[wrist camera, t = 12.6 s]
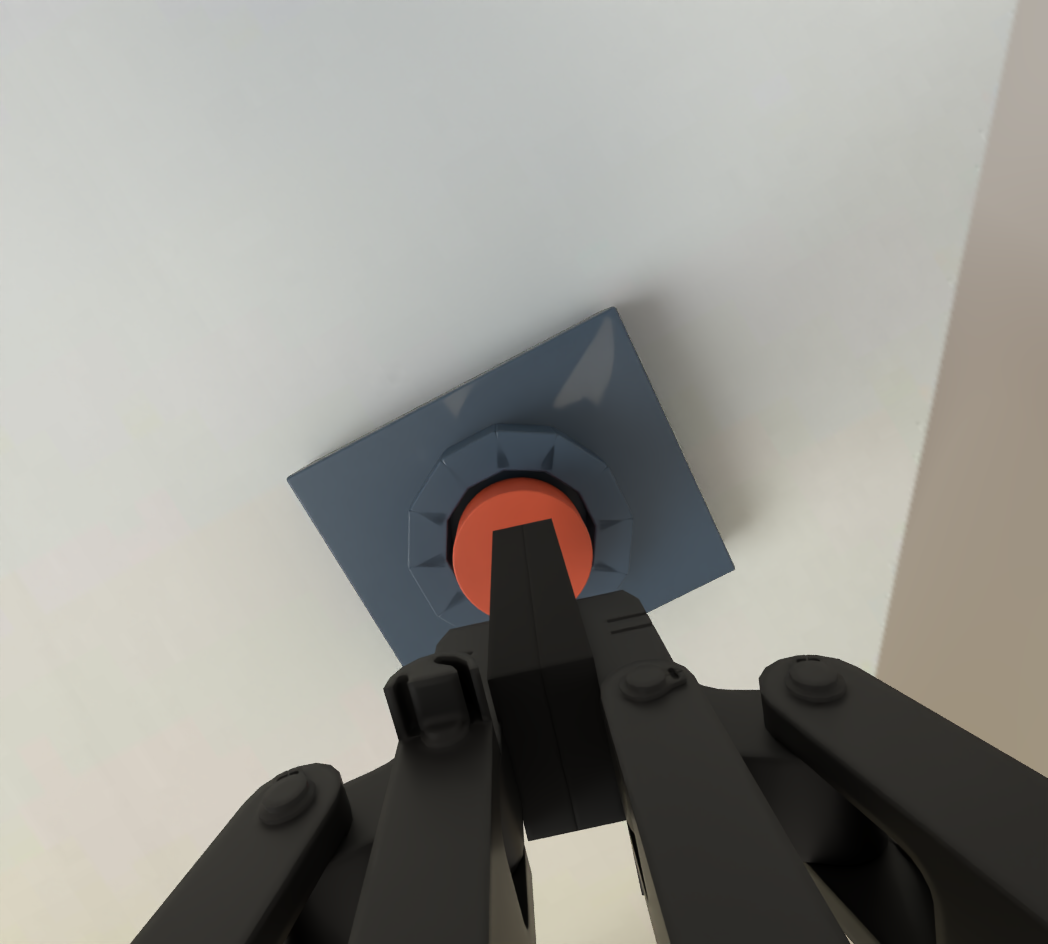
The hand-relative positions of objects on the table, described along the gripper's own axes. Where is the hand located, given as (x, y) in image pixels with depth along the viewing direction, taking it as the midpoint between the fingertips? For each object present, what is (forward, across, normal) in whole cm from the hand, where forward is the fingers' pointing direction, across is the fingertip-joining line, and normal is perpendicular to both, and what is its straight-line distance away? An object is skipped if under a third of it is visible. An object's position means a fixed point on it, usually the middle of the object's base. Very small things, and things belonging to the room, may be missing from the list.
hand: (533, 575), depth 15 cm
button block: (+7, 0, 0) cm, 7 cm away
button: (+4, 0, 0) cm, 4 cm away
